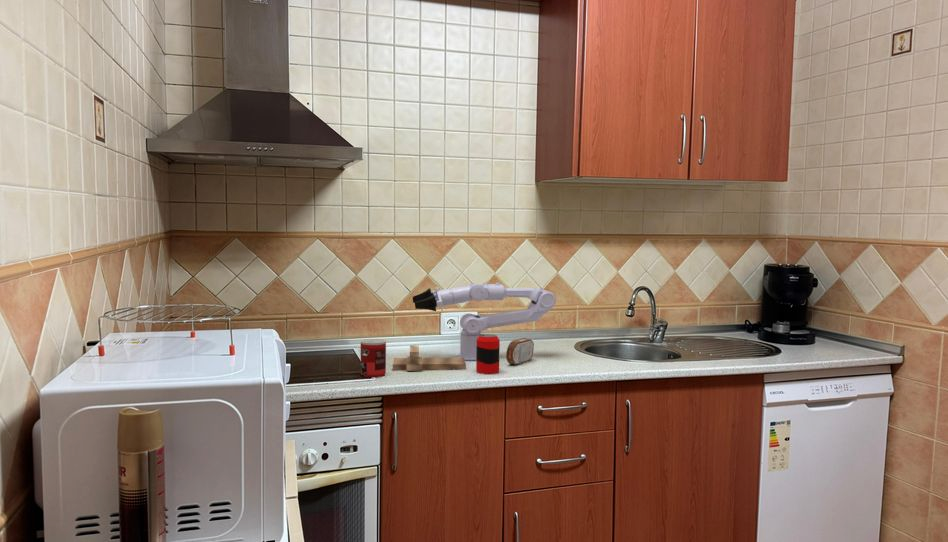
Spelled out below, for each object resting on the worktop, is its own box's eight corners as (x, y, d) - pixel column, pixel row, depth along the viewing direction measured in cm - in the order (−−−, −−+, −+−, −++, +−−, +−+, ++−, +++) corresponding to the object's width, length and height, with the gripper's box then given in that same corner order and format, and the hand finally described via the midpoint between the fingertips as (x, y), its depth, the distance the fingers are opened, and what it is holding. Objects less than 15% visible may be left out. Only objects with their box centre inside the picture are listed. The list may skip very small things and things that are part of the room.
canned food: (361, 372, 208) (361, 338, 208) (386, 372, 209) (386, 338, 208) (359, 378, 201) (359, 343, 200) (385, 377, 201) (385, 343, 201)
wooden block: (421, 363, 222) (421, 345, 221) (421, 370, 210) (422, 351, 210) (407, 363, 221) (407, 345, 221) (406, 370, 210) (406, 352, 209)
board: (463, 363, 224) (463, 357, 223) (465, 369, 214) (465, 363, 213) (393, 363, 221) (393, 358, 221) (392, 370, 211) (392, 364, 211)
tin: (527, 358, 232) (528, 335, 232) (535, 360, 231) (535, 336, 230) (505, 366, 220) (505, 341, 219) (512, 367, 218) (513, 342, 218)
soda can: (480, 368, 216) (480, 332, 215) (501, 370, 214) (502, 334, 213) (473, 373, 209) (473, 336, 208) (495, 375, 206) (496, 338, 206)
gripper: (447, 280, 235) (410, 286, 233) (453, 290, 221) (414, 297, 219) (449, 299, 237) (413, 305, 234) (456, 310, 223) (417, 316, 221)
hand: (413, 302), depth 227 cm, fingers open, 7 cm apart
